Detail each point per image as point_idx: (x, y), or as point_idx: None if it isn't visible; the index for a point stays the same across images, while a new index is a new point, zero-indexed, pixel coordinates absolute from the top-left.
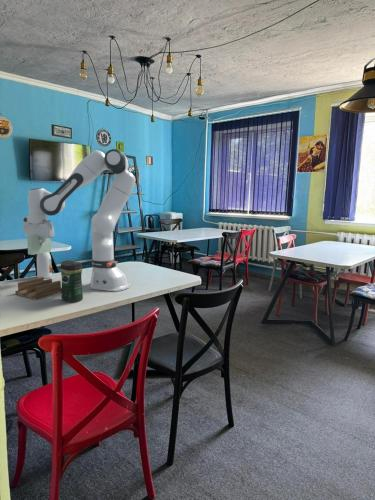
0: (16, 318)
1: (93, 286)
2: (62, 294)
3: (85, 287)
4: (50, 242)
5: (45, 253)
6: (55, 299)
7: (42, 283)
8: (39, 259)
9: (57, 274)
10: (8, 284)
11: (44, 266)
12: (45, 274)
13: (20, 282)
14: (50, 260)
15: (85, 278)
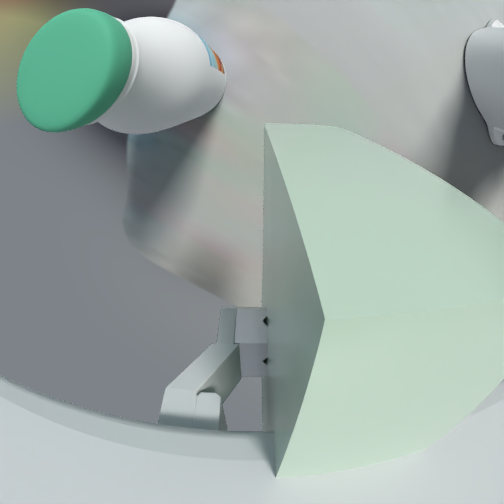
0: None
1: (500, 135)
2: None
3: (475, 134)
4: (398, 155)
5: (176, 81)
6: None
7: None
8: (163, 129)
9: (197, 6)
10: (176, 261)
11: (208, 103)
12: (218, 98)
13: None
14: (205, 44)
15: (392, 4)
